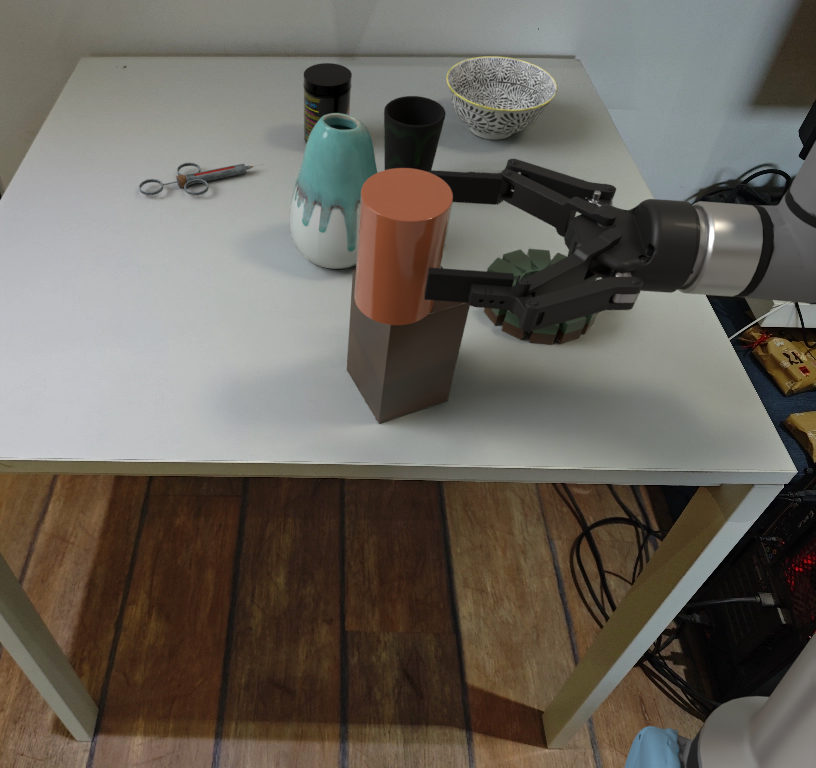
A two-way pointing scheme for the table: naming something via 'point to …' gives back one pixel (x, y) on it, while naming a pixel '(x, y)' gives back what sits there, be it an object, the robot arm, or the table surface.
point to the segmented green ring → (524, 267)
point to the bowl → (499, 94)
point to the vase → (331, 191)
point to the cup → (412, 132)
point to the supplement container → (325, 93)
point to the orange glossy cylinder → (400, 243)
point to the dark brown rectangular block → (405, 358)
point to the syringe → (198, 177)
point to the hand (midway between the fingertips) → (426, 231)
